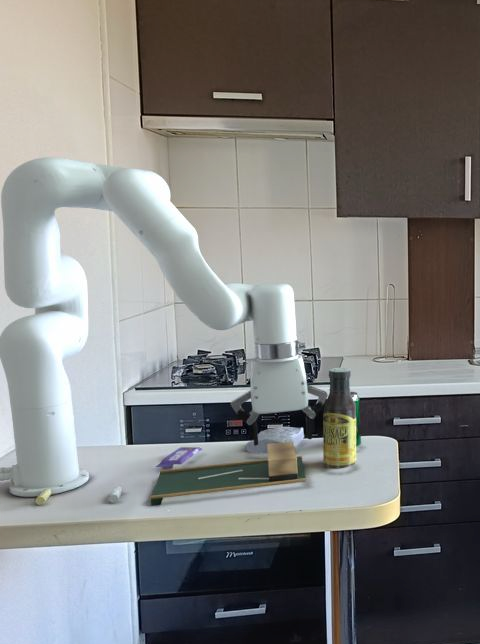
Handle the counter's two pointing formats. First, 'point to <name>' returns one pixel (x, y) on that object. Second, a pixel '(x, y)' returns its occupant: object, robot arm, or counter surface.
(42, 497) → the chalk stick
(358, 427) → the soda can
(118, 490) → the chalk stick
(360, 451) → the counter surface
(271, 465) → the eraser
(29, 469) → the robot arm
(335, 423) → the sauce bottle
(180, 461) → the snack package
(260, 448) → the stone block
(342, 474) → the counter surface
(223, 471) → the chalkboard
